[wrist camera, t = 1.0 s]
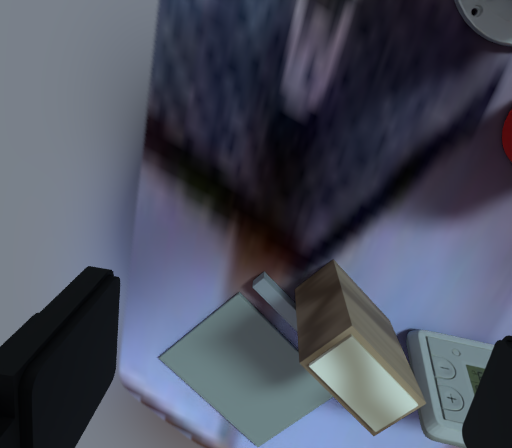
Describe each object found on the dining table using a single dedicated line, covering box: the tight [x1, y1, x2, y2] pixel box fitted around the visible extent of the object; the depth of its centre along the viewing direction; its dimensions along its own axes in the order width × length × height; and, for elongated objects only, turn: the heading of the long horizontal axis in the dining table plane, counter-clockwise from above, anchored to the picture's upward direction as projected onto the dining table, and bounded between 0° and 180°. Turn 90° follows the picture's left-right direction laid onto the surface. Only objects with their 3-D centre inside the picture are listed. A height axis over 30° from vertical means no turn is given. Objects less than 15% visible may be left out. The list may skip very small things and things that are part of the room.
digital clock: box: [406, 330, 494, 448], centre depth 40 cm, size 16×9×11 cm, turn 66°
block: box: [295, 260, 426, 436], centre depth 38 cm, size 5×9×12 cm, turn 43°
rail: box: [252, 272, 297, 331], centre depth 44 cm, size 2×16×2 cm, turn 42°
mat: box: [159, 292, 333, 447], centre depth 47 cm, size 12×16×1 cm
